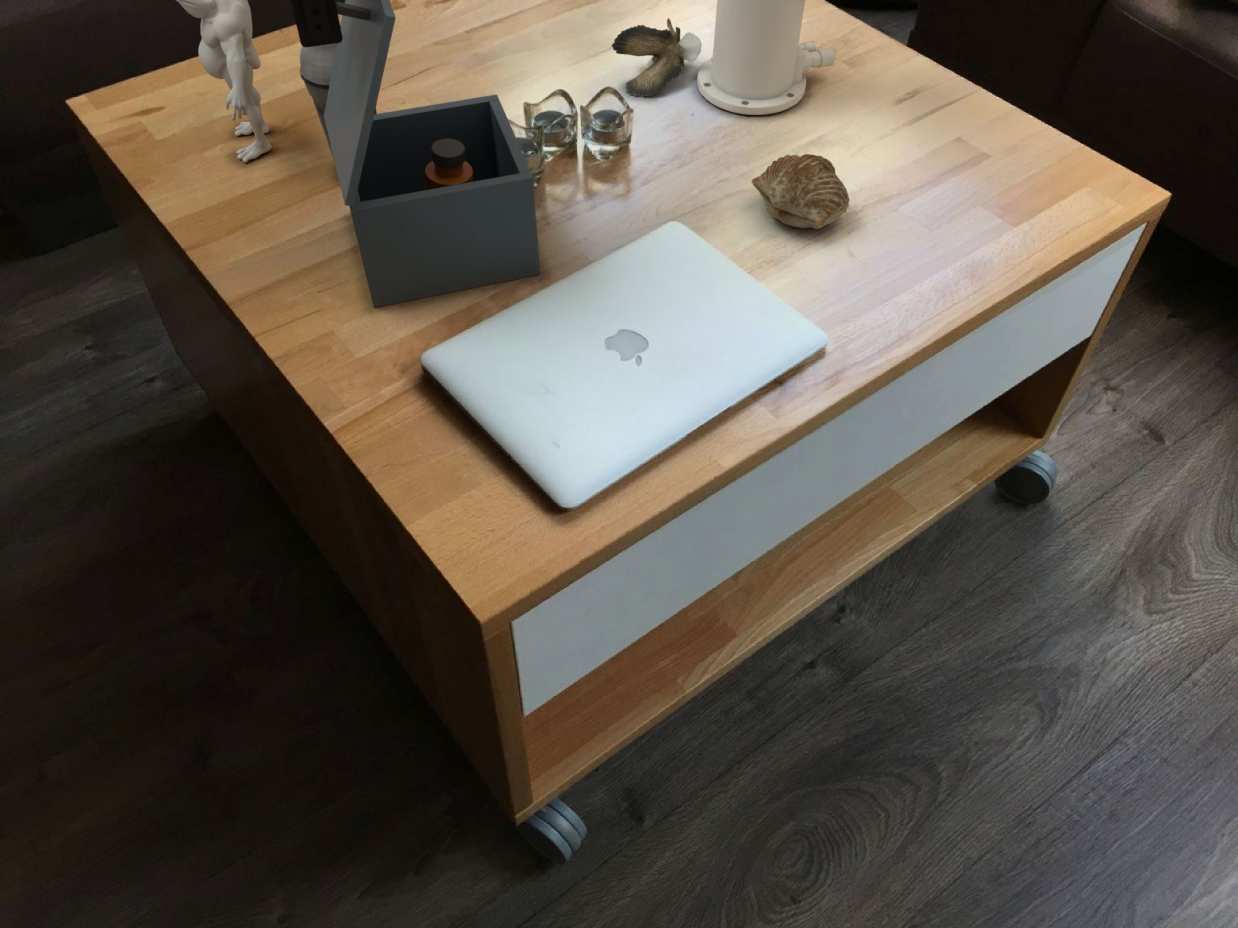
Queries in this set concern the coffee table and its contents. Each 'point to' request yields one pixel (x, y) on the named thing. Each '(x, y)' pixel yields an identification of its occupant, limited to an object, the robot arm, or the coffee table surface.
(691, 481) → the coffee table surface
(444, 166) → the spice bottle
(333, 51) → the beverage cup
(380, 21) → the lid
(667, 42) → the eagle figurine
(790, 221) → the seashell
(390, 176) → the chest
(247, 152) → the figurine
